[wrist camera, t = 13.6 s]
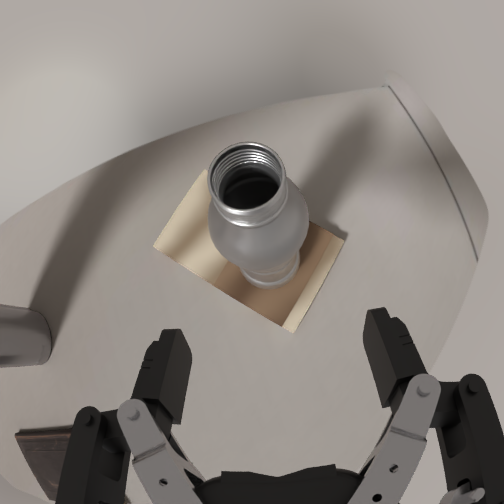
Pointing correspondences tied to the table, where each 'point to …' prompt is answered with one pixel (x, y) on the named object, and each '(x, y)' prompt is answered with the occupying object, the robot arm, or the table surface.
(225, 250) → the plastic bottle
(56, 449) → the hardcover book
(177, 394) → the robot arm
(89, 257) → the table surface
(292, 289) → the board
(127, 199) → the table surface
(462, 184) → the table surface
